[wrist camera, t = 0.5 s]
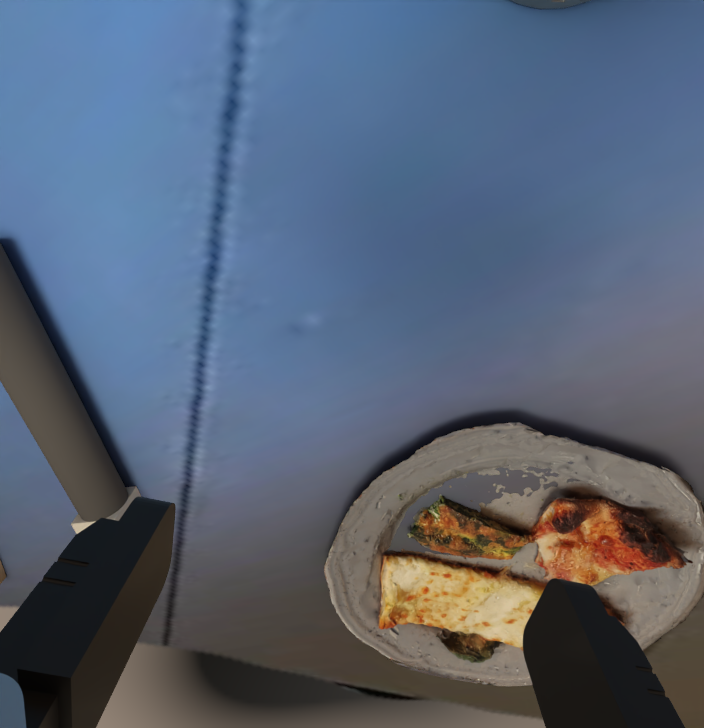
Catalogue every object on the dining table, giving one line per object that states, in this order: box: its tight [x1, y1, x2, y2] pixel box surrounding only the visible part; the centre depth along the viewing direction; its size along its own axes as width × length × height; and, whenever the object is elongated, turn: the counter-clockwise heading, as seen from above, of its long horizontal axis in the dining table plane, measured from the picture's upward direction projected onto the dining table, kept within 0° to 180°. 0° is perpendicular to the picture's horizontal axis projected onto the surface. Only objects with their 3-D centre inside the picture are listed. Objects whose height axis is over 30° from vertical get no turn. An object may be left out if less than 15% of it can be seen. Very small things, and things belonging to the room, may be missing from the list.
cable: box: [0, 243, 141, 534], centre depth 29 cm, size 22×3×3 cm, turn 10°
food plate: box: [324, 422, 704, 687], centre depth 33 cm, size 25×23×4 cm
